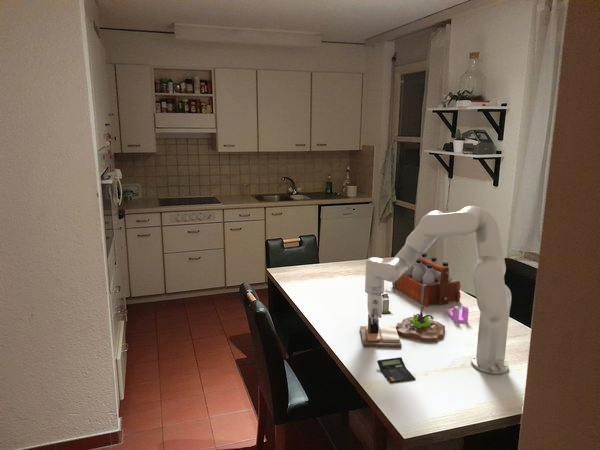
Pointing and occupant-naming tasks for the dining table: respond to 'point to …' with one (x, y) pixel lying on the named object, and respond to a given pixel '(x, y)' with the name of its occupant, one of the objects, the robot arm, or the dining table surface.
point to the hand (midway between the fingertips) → (373, 327)
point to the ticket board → (382, 338)
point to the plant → (421, 328)
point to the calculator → (395, 370)
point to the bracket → (458, 314)
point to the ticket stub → (372, 335)
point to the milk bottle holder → (429, 283)
